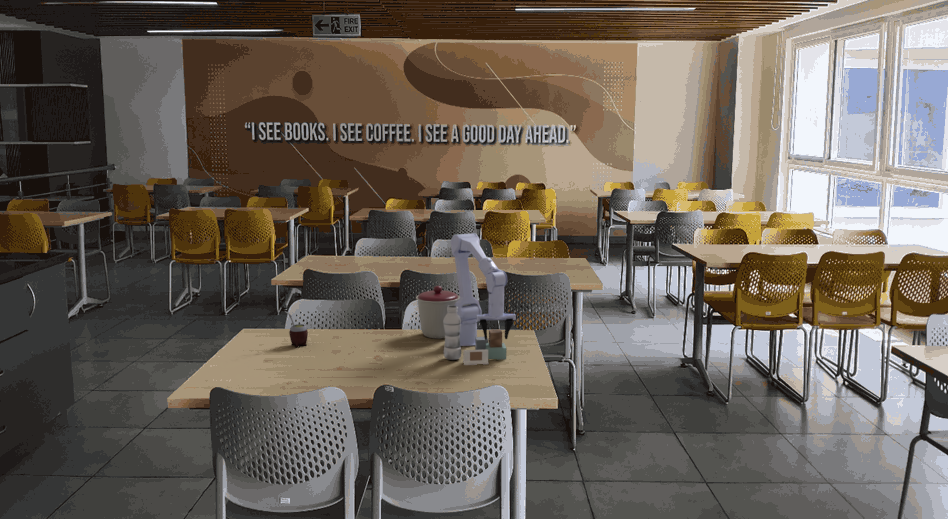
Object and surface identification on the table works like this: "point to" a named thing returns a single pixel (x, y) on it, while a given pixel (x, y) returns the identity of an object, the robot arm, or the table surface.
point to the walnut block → (495, 338)
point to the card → (475, 357)
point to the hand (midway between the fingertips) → (495, 338)
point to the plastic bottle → (452, 334)
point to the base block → (496, 352)
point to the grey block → (480, 343)
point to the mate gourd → (298, 334)
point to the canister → (434, 310)
